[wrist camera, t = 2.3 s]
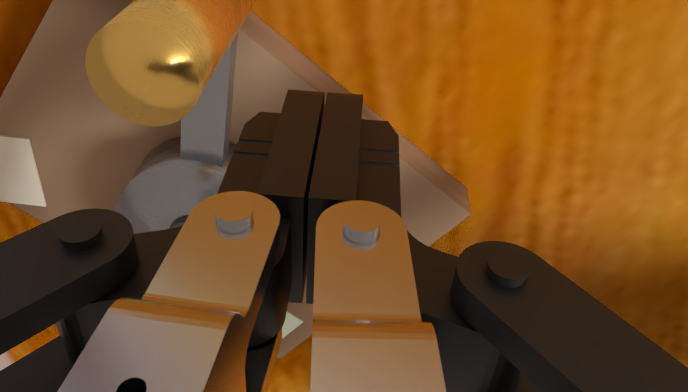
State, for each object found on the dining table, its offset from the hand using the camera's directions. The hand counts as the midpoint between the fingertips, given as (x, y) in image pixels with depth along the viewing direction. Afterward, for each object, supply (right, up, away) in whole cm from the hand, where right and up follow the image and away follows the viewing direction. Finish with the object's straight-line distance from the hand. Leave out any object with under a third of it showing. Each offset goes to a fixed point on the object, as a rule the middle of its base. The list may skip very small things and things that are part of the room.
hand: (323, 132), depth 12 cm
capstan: (-5, 0, +12) cm, 13 cm away
